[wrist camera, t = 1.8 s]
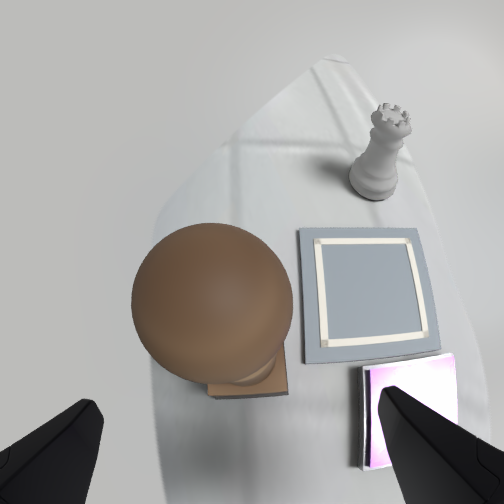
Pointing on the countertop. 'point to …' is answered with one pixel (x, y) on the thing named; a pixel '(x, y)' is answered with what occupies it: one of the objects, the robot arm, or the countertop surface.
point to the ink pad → (411, 381)
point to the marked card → (365, 294)
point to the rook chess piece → (381, 154)
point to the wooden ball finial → (216, 310)
